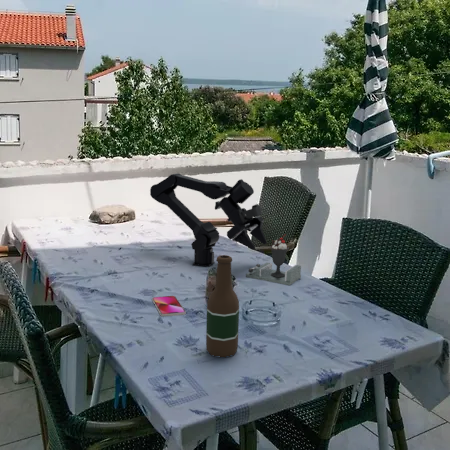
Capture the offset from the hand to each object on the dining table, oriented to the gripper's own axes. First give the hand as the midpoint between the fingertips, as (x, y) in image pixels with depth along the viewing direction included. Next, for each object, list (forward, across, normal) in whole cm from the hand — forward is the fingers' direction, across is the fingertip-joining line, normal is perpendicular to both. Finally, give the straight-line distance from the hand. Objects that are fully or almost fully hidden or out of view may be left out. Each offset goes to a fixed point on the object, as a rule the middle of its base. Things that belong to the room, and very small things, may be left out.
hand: (260, 246), depth 193 cm
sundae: (+12, 0, +2) cm, 12 cm away
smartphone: (+2, -43, +14) cm, 45 cm away
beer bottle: (+21, -60, -6) cm, 64 cm away
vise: (+11, 0, +3) cm, 12 cm away
